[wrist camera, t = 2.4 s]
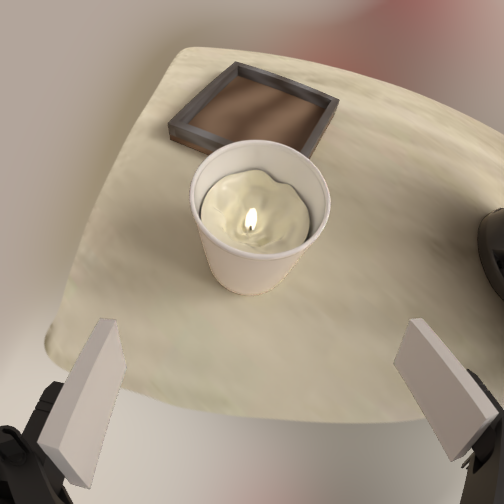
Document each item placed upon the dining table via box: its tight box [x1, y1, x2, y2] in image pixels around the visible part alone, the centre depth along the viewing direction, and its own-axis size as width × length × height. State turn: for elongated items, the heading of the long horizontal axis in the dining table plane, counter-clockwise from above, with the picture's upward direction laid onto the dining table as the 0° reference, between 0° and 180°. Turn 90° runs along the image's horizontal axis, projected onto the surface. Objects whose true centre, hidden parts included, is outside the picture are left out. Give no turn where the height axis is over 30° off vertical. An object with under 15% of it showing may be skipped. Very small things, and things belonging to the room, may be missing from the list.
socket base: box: [168, 62, 340, 159], centre depth 38 cm, size 17×17×3 cm
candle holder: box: [189, 140, 331, 296], centre depth 26 cm, size 10×10×12 cm
